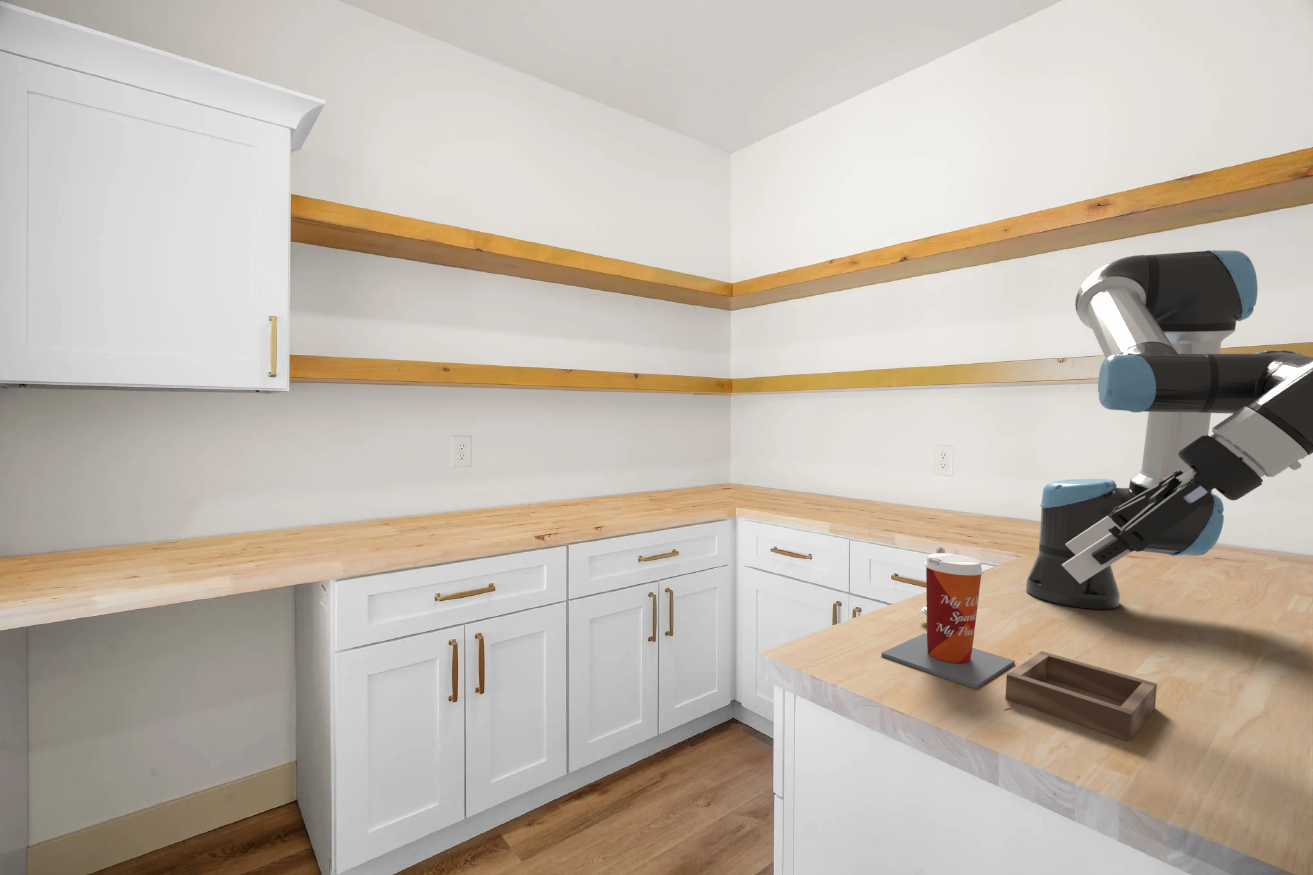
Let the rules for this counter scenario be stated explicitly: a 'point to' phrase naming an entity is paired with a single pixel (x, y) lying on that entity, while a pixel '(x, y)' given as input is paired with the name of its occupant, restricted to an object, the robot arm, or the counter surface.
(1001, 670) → the slate mat
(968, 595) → the paper cup
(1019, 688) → the cup holder
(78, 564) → the counter surface
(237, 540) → the counter surface
